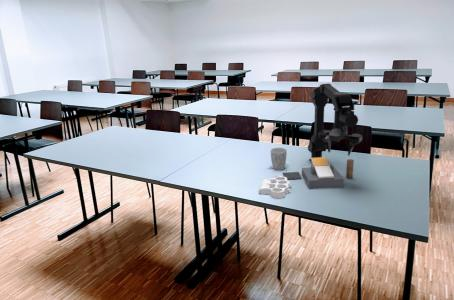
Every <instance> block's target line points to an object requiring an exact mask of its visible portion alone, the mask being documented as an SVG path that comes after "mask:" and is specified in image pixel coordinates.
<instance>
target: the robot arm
mask: <svg viewBox="0 0 454 300" xmlns="http://www.w3.org/2000/svg"><path fill="white" fill-rule="evenodd" d="M310 97H311V98H310V99H311V103H312V104H313V106H314V123H313V124H314V127H313V128H314V129H313V130H314V131H313V133H312V136H311V137H310V142H309V144H308V146H307V151H308V152H309V153H310V154H311V158H319V157H323V152H326V151H327V152H328V153H331V149H332V148H331V147H332V142H337V143H339V142H341V140H349V142H348V150H347V151H348V152H347V156H349V157H350V156H351V153H352V151H353V149H354V147H355V146H356V145H357V144H360V143H361V142H362V141H363V135H362V134H360V133H352V134H350V135H349V134H348V128H354V127H355V126H357V124H358V122H359V118H358V115H356V114H355V104H354V101H353V98H352V96H351V94H350V93H348V92H342V91H340V90H338V89H337V88H335V87H334V86H333V85H332V84H331V83H321V84H320V85H319V86H317V87H316V88H314V89H313V90H312V92H311V93H310ZM329 99H330V100H331V104H332V105H333V110H334V116H333V117H334V119H333V122H334V123H333V124H332V128H331V130H330V129H329V130H328V129H325V128H324V125H325V123H324V122H325V107H326V106H327V104H328V103H329ZM311 158H309V159H308V160H309V161H310V162H311V163H312V161H311ZM312 164H313V163H312Z"/></svg>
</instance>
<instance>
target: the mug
mask: <svg viewBox="0 0 454 300" xmlns="http://www.w3.org/2000/svg"><path fill="white" fill-rule="evenodd" d="M287 155H288V154H287V149H286V148H284V147H273V148H271V149H270V159H271V165H272V168H273V169H274V170H283V169H285V167H286V161H287Z"/></svg>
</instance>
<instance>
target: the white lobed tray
mask: <svg viewBox="0 0 454 300" xmlns="http://www.w3.org/2000/svg"><path fill="white" fill-rule="evenodd" d="M292 186H293V184H292V183H290V180H287V178H286V177H284V175H283V176H281V175H280V176H276V177H273V178H264V179H262V180H261V183H260V187H259V188H258V193H259V194H260V195H270V196H271V197H272V198H274V199H283V198H285V195H286V194H287V195H288V194H289V192H291V191H292V189H290V188H291V187H292Z"/></svg>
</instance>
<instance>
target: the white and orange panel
mask: <svg viewBox="0 0 454 300" xmlns="http://www.w3.org/2000/svg"><path fill="white" fill-rule="evenodd" d="M310 159H311V161H312V165H313V166H314V167H315V171H316V173H317V176H318V179H320V178H334V175H333V173H332V171H331V168H330V163H329V162H328V159H327V157H325V156H322V157H319V158H310ZM311 161H310V162H311Z"/></svg>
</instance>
